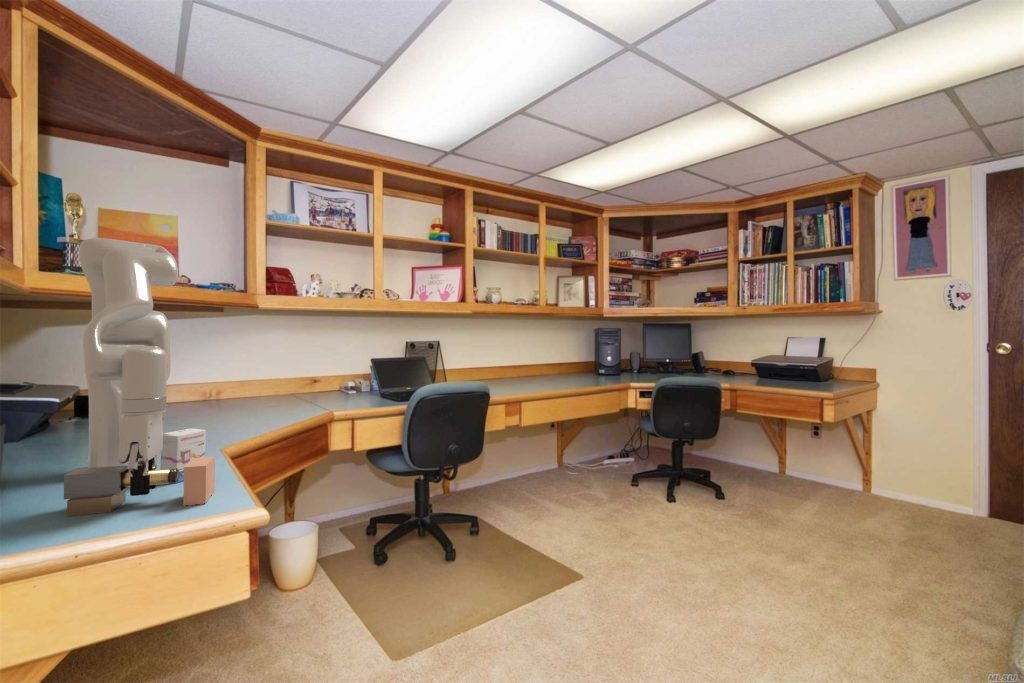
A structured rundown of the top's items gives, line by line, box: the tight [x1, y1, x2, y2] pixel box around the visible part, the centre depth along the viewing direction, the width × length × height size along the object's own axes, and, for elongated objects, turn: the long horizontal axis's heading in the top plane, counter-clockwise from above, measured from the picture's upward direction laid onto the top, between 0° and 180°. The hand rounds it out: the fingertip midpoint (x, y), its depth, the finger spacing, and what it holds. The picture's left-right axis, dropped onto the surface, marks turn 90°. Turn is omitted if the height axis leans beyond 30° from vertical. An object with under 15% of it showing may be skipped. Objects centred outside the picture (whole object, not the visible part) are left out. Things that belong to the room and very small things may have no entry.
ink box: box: [159, 427, 207, 484], centre depth 117 cm, size 9×5×12 cm, turn 168°
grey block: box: [63, 465, 130, 517], centre depth 96 cm, size 9×7×8 cm
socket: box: [183, 456, 216, 507], centre depth 103 cm, size 4×8×8 cm, turn 21°
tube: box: [121, 469, 179, 488], centre depth 98 cm, size 16×3×3 cm, turn 111°
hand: (143, 491), depth 99 cm, fingers closed on tube, 3 cm apart
